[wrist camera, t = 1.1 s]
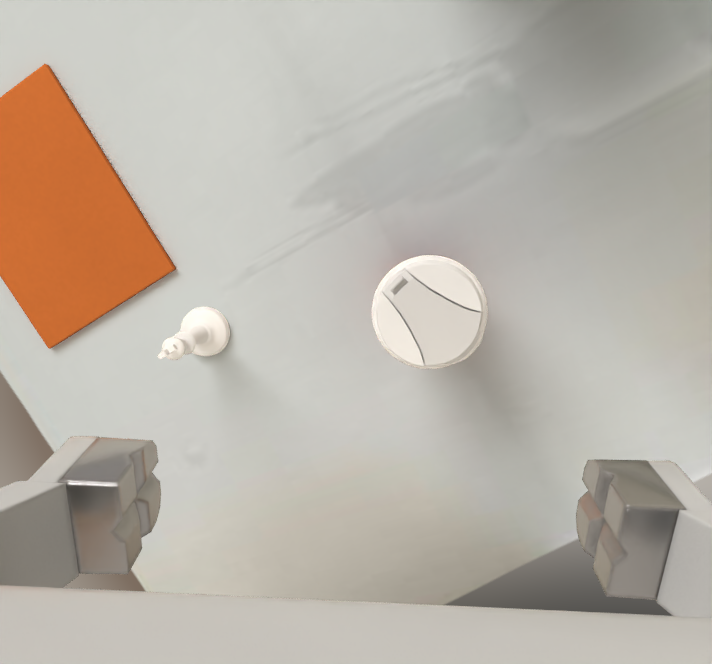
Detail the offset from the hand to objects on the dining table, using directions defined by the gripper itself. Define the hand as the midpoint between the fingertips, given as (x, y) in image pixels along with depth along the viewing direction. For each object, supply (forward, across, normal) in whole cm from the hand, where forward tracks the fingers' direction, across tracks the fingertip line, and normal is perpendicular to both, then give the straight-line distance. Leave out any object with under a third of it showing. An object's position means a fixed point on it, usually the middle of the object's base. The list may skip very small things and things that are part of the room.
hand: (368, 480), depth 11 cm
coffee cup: (+45, -6, +8) cm, 46 cm away
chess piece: (+46, +16, +14) cm, 50 cm away
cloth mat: (+49, +31, +3) cm, 58 cm away
